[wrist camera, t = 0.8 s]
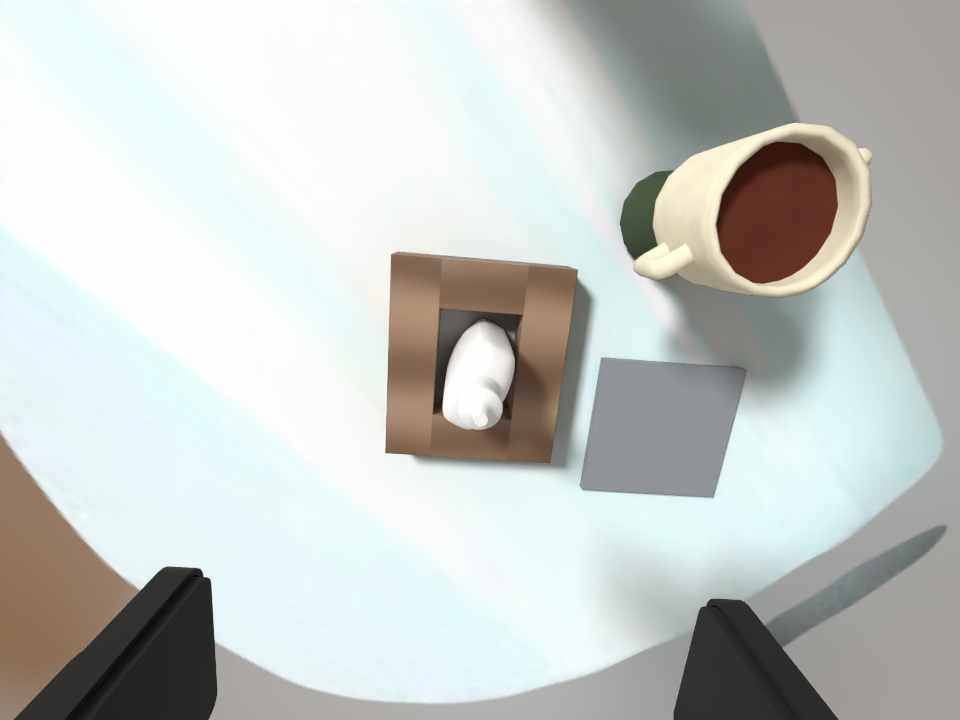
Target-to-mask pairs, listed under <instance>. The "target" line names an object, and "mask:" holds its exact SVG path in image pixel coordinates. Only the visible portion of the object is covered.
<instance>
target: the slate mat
mask: <svg viewBox="0 0 960 720" xmlns="http://www.w3.org/2000/svg"><path fill="white" fill-rule="evenodd" d="M745 374H746V370H745V369H743V368H736V367H723V366H710V365H696V364H683V363H669V362H656V361H643V360H629V359H616V358H602V357H601V363H600V369H599V375H598V381H597V387H596V393H595V399H594V405H593V411H592V417H591V423H590V429H589V435H588V441H587V447H586V453H585V459H584V465H583V471H582V477H581V483H580V486H581V489H583V490H600V491H617V492H634V493H651V494H668V495H686V496H703V497H713V496H714V492H715V488H716V484H717V480H718V477H719V473H720V469H721V465H722V461H723V458H724V454H725V450H726V446H727V443H728V439H729V435H730V431H731V427H732V424H733V420H734V416H735V412H736V408H737V405H738V401H739V397H740V393H741V389H742V386H743V382H744V378H745Z"/></svg>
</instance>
